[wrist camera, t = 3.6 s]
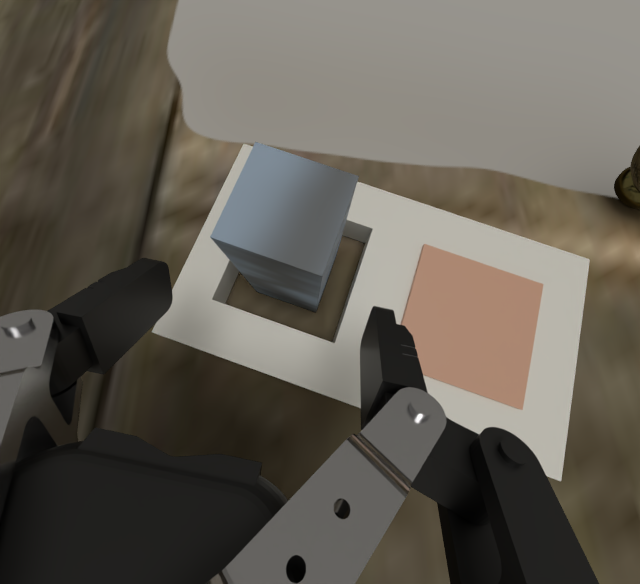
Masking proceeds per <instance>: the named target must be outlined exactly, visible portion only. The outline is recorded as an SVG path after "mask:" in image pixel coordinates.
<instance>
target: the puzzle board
mask: <svg viewBox="0 0 640 584" xmlns="http://www.w3.org/2000/svg"><path fill="white" fill-rule="evenodd" d="M252 148H253V147H252V146H249V145H246V144H243V146H242V148H241V150H240V152H239V155H238V157H237V159H236V161H235V163H234V165H233V167H232V169H231V171H230V173H229V175H228V177H227V179H226V181H225V183H224V185H223V187H222V189H221V191H220V193H219V195H218V197H217V200H216V202H215V204H214V206H213V208H212V210H211V212H210V214H209V216H208V218H207V220H206V222H205V224H204V226H203V228H202V230H201V232H200V234H199V236H198V238H197V240H196V242H195V245H194V247H193V249H192V251H191V253H190V255H189V257H188V259H187V261H186V263H185V265H184V267H183V269H182V271H181V273H180V275H179V277H178V279H177V281H176V283H175V285H174V288H173V290H172V295H173V299H172V304H171V307H170V308H169V310H168V311H167V312H166V313H165V314H164V315H163V316H162V317H161V318H160V319H159V320H158V321H157V322H156V324H155V326H154V328H153V330H152V332H153V333H155V334H158V335H161V336H164V337H166V338H169V339H172V340H175V341H177V342H180V343H183V344H186V345H188V346H191V347H194V348H197V349H199V350H202V351H205V352H208V353H210V354H213V355H216V356H219V357H221V358H224V359H227V360H229V361H232V362H235V363H238V364H240V365H243V366H246V367H249V368H251V369H254V370H257V371H260V372H262V373H265V374H268V375H271V376H273V377H276V378H279V379H282V380H284V381H287V382H290V383H293V384H295V385H298V386H301V387H304V388H306V389H309V390H312V391H315V392H317V393H320V394H323V395H326V396H328V397H331V398H334V399H337V400H339V401H342V402H345V403H347V404H350V405H353V406H356V407H358V408H361V393H360V345H361V340H362V336H363V333H364V330H365V327H366V324H367V321H368V318H369V315H370V312H371V310H372V307H373V306H377V307H382V308H387V309H392V310H393V311H394V314H395V319H396V324H399V325H404V326H405V327H406V328H407V329H408V331H409V332H410V333H411V334H412V336H413V339H414V343H415V349H416V350H417V354H418V358H419V362H420V365H421V369H422V373H423V377H424V381H425V384H426V388H427V392H428V394H430V395H431V396H432V397H434V398H435V399H436V400H437V401H438V402H439V404H440V405H441V406H442V408H443V410H444V412H445V415H446V417H447V418H449V419H450V420H452V421H454V422H455V423H457V424H459V425H461V426H463V427H465V428H467V429H469V430H471V431H473V432H475V433H477V434H480V433H481V432H482V431H483V430H484V429H485V428H488V427H497V428H501V429H504V430H506V431H509V432H510V433H512V434H514V435H515V436H517V437H518V438H519V439H521V440H522V441H523V442H524V443H525V444H526V445H527V446H528V447H529V448H530V449H531V450H532V451H533V453H534V454H535V456H536V457H537V459H538V460H539V462H540V464H541V466H542V468H543V470H544V472H545V474H546V476H548V477H551V478H553V479H556V480H559V481H561V479H562V471H563V463H564V455H565V448H566V440H567V432H568V424H569V416H570V409H571V401H572V393H573V385H574V378H575V370H576V362H577V354H578V347H579V339H580V331H581V323H582V315H583V308H584V300H585V292H586V284H587V277H588V269H589V261H590V259H587V258H584V257H581V256H578V255H575V254H572V253H569V252H566V251H563V250H560V249H557V248H554V247H551V246H548V245H545V244H542V243H539V242H536V241H533V240H530V239H527V238H524V237H521V236H518V235H515V234H512V233H509V232H506V231H503V230H500V229H497V228H494V227H491V226H488V225H485V224H482V223H480V222H477V221H474V220H471V219H468V218H465V217H462V216H459V215H456V214H453V213H450V212H447V211H444V210H441V209H438V208H435V207H432V206H429V205H426V204H423V203H420V202H417V201H414V200H411V199H408V198H405V197H402V196H399V195H396V194H393V193H390V192H387V191H384V190H381V189H378V188H375V187H372V186H369V185H366V184H363V183H360V182H357V184H356V188H355V191H354V195H353V198H352V202H351V206H350V209H349V213H348V216H347V220H346V223H345V227H344V230H343V234H342V235H343V236H346V237H349V238H352V239H355V240H357V241H360V242H363V243H365V245H364V248H363V251H362V254H361V257H360V260H359V263H358V266H357V269H356V272H355V275H354V278H353V281H352V284H351V287H350V290H349V293H348V296H347V299H346V302H345V305H344V308H343V311H342V314H341V317H340V320H339V323H338V326H337V329H336V332H335V335H334V338H333V341H332V342H330V341H327V340H324V339H321V338H318V337H316V336H313V335H310V334H307V333H304V332H302V331H299V330H296V329H293V328H290V327H288V326H285V325H282V324H279V323H276V322H274V321H271V320H268V319H265V318H262V317H260V316H257V315H254V314H251V313H248V312H246V311H243V310H240V309H237V308H234V307H232V306H229V305H226V304H225V303H226V301H227V298H228V296H229V294H230V292H231V289H232V287H233V285H234V282H235V280H236V278H237V276H238V273H239V270H238V269H237V268H236V267H235V266H234V264H233V263H232V262H231V261H230V260H229V259H228V257H227V256H226V255H225V254H224V253H223V252H222V250H221V249H220V248H219V247H218V246H217V245H216V243H215V242H214V241H213V240H212V239H211V238H210V236H211V234H212V232H213V230H214V228H215V226H216V224H217V222H218V220H219V217H220V215H221V213H222V211H223V209H224V207H225V205H226V203H227V201H228V199H229V196H230V194H231V192H232V190H233V188H234V186H235V184H236V182H237V180H238V178H239V176H240V173H241V171H242V169H243V167H244V165H245V163H246V161H247V159H248V157H249V155H250V152H251V150H252Z"/></svg>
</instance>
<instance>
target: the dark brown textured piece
mask: <svg viewBox="0 0 640 584" xmlns="http://www.w3.org/2000/svg"><path fill="white" fill-rule="evenodd" d="M614 189H615V193H616V195H617V197H618V198H619V199H620V201H621V202H623V203H624V204H625V205H627V206H629V207H631V208H636V209H640V146H639V148H638V149H637V151H636V152H635V154H634V156H633V159H632V162H631V167H629V168H627V169H625V170H624V171H623V172H622V173H621V174H620V175H619V176H618V178H617V179H616V181H615V184H614Z"/></svg>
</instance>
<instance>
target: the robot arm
mask: <svg viewBox="0 0 640 584" xmlns="http://www.w3.org/2000/svg"><path fill="white" fill-rule="evenodd" d="M172 299H173V295H172V288H171V282H170V275H169V269H168V265H167V264H166V263H165V262H162V261H157V260H152V259H147V258H142V259H140V260H138V261H136V262H135V263H133V264H132V265H130V266H128V267H127V268H124V269H121V270H118V271H115V272H112V273H110V274H108V275H106V276H105V277H103V278H101V279H100V280H98V282H95V283H93V284H91V285H90V286H88V288H85V289H83V290H81V291H80V292H78V293H76V294H75V295H73V296H72V297H70V298H68V299H67V300H65V301H63V302H62V303H60V304H58V305H57V306H55V307H53V308H52V309H50V310H48V311H43V310H24V311H18V312H14V313H10V314H7V315H4V316H2V317H0V584H355V582H356V581H357V579H358V577H359V576H360V574H361V572H362V571H363V569H364V567H365V566H366V564H367V562H368V560H369V559H370V557H371V555H372V554H373V552H374V550H375V549H376V547H377V545H378V544H379V542H380V540H381V538H382V537H383V535H384V533H385V532H386V530H387V528H388V527H389V525H390V523H391V522H392V520H393V518H394V517H395V515H396V513H397V511H398V510H399V508H400V506H401V505H402V503H403V501H404V500H405V498H406V496H407V494H408V492H409V490H410V486H411V487H412V488H414V489H416V490H417V491H419V492H421V493H422V494H424V495H426V496H427V497H429V498H431V499H433V500H434V501H436V502H437V505H438V511H439V517H440V523H441V529H442V535H443V541H444V547H445V553H446V559H447V565H448V571H449V578H450V584H599V583H598V580H597V578H596V576H595V574H594V572H593V570H592V568H591V566H590V564H589V562H588V560H587V558H586V556H585V554H584V552H583V550H582V548H581V546H580V544H579V542H578V540H577V538H576V536H575V534H574V532H573V530H572V527H571V525H570V523H569V521H568V519H567V517H566V515H565V513H564V511H563V509H562V507H561V505H560V503H559V501H558V499H557V497H556V495H555V493H554V491H553V489H552V487H551V485H550V483H549V481H548V479H547V476H546V474H545V472H544V470H543V468H542V466H541V464H540V462H539V460H538V459H537V457H536V456H535V454H534V453H533V451H532V450H531V449H530V448H529V447H528V446H527V445H526V444H525V443H524V442H523V441H522V440H521V439H519V438H518V437H517V436H515V435H514V434H512V433H510V432H509V431H506V430H504V429H501V428H497V427H488V428H485V429H484V430H483V431H482V432H481V433H480V434H477V433H475V432H473V431H471V430H469V429H467V428H465V427H463V426H461V425H459V424H457V423H455V422H454V421H452V420H450V419H449V418H447V417H446V415H445V412H444V410H443V408H442V406H441V405H440V404H439V402H438V401H437V400H436V399H435V398H434V397H432V396H431V395H430V394H428V392H427V388H426V384H425V381H424V377H423V373H422V369H421V365H420V362H419V358H418V354H417V350H416V349H415V343H414V339H413V336H412V334H411V333H410V332H409V331H408V329H407V328H406V327H405V326H404V325H399V324H396V319H395V314H394V311H393V310H392V309H387V308H382V307H377V306H373V307H372V310H371V312H370V315H369V318H368V321H367V324H366V327H365V330H364V333H363V336H362V340H361V345H360V393H361V430H362V431H361V432H360V433H359V434H358V435H355V434H353V435H351V436H350V437H349V438H347V439H346V440H345V441H344V442H343V444H342V445H341V446H340V447H339V448H338V449H337V450H336V451H335V452H334V453H333V454H332V455H331V456H330V457H329V458H328V459H327V461H326V462H325V463H324V464H323V465H322V466H321V467H320V468H319V469H318V470H317V471H316V472H315V473H314V474H313V475H312V476H311V477H310V479H309V480H308V481H307V482H306V483H305V484H304V485H303V486H302V487H301V488H300V489H299V490H298V491H297V492H296V493H295V494H294V495H293V497H292V498H291V499H290V500H289V501H288V499H287V498H286V497H285V495H284V494H283V493H282V492H281V491H280V490H279V489H278V488H277V487H276V486H275V485H273V484H272V483H271V482H270V481H268V480H267V479H265V478H263V477H262V476H260V475H261V466H262V463H261V462H256V461H251V460H247V459H242V458H237V457H233V456H228V455H223V454H213V455H197V456H182V457H173V456H169V455H167V454H166V453H164V452H162V451H160V450H159V449H157V448H155V447H154V446H152V445H150V444H149V443H147V442H145V441H143V440H142V439H140V438H138V437H137V436H133V435H128V434H123V433H119V432H114V431H109V430H104V429H100V428H94V430H93V431H92V432H91V433H90V434H89V435H88V437H87V438H86V439H85V440H84V441H81V442H78V436H77V431H78V421H79V413H80V404H81V395H82V387H83V381H82V379H81V376H82V375H83V374H84V373H85V372H86V371H90V372H94V373H99V374H105V373H106V372H107V371H108V370H109V369H110V368H111V367H112V366H113V365H114V364H115V363H116V362H117V361H118V360H119V359H120V358H121V357H122V356H123V355H124V354H125V353H126V352H127V351H128V350H129V349H130V348H131V347H132V346H133V345H134V344H135V343H136V342H137V341H138V340H139V339H140V338H141V337H142V336H143V335H144V334H145V333H146V332H147V331H148V330H149V329H150V328H151V327H152V326H153V325H154V324H155V323H156V322H157V321H158V320H159V319H160V318H161V317H162V316H163V315H164V314H165V313H166V312H167V311H168V310H169V308H170V307H171V304H172Z"/></svg>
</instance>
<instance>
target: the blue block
mask: <svg viewBox="0 0 640 584" xmlns="http://www.w3.org/2000/svg"><path fill="white" fill-rule="evenodd" d="M358 177H359V176H356V175H353V174H350V173H347V172H344V171H341V170H338V169H335V168H332V167H329V166H326V165H323V164H320V163H317V162H314V161H311V160H308V159H305V158H302V157H299V156H296V155H293V154H290V153H287V152H284V151H281V150H278V149H275V148H272V147H269V146H266V145H263V144H260V143H257V142H255V144H254V146H253V148H252V150H251V152H250V155H249V157H248V159H247V161H246V163H245V165H244V167H243V169H242V171H241V173H240V176H239V178H238V180H237V182H236V184H235V186H234V188H233V190H232V192H231V194H230V196H229V199H228V201H227V203H226V205H225V207H224V209H223V211H222V213H221V215H220V217H219V220H218V222H217V224H216V226H215V228H214V230H213V232H212V234H211V236H210V238H211V239H212V240H213V241H214V242H215V243H216V245H217V246H218V247H219V248H220V249H221V250H222V252H223V253H224V254H225V255H226V256H227V257H228V259H229V260H230V261H231V262H232V263H233V264H234V266H235V267H236V268H237V269H238V270H239V271H240V273H241V274H242V275H243V276H244V277H245V278H246V280H247V281H248V282H249V283H250V284H251V285H252V287H253V288H254V289H255V290H256V291H257V292H259V293H262V294H265V295H268V296H270V297H273V298H276V299H279V300H282V301H285V302H287V303H290V304H293V305H296V306H299V307H302V308H304V309H307V310H310V311H313V312H316V311H317V308H318V306H319V303H320V300H321V297H322V294H323V292H324V289H325V286H326V283H327V280H328V278H329V275H330V272H331V269H332V266H333V264H334V261H335V258H336V255H337V251H338V248H339V244H340V241H341V237H342V234H343V230H344V227H345V223H346V220H347V216H348V213H349V209H350V206H351V202H352V198H353V195H354V191H355V188H356V184H357V181H358Z"/></svg>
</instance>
